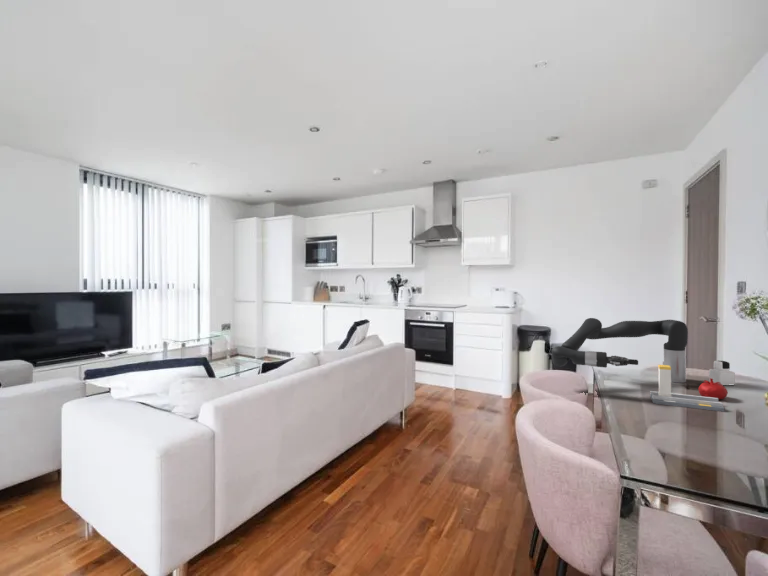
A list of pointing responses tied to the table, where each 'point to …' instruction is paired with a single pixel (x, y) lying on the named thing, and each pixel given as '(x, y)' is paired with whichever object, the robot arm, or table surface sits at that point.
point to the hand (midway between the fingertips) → (638, 362)
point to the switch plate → (688, 401)
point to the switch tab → (664, 380)
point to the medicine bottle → (722, 373)
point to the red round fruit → (713, 390)
